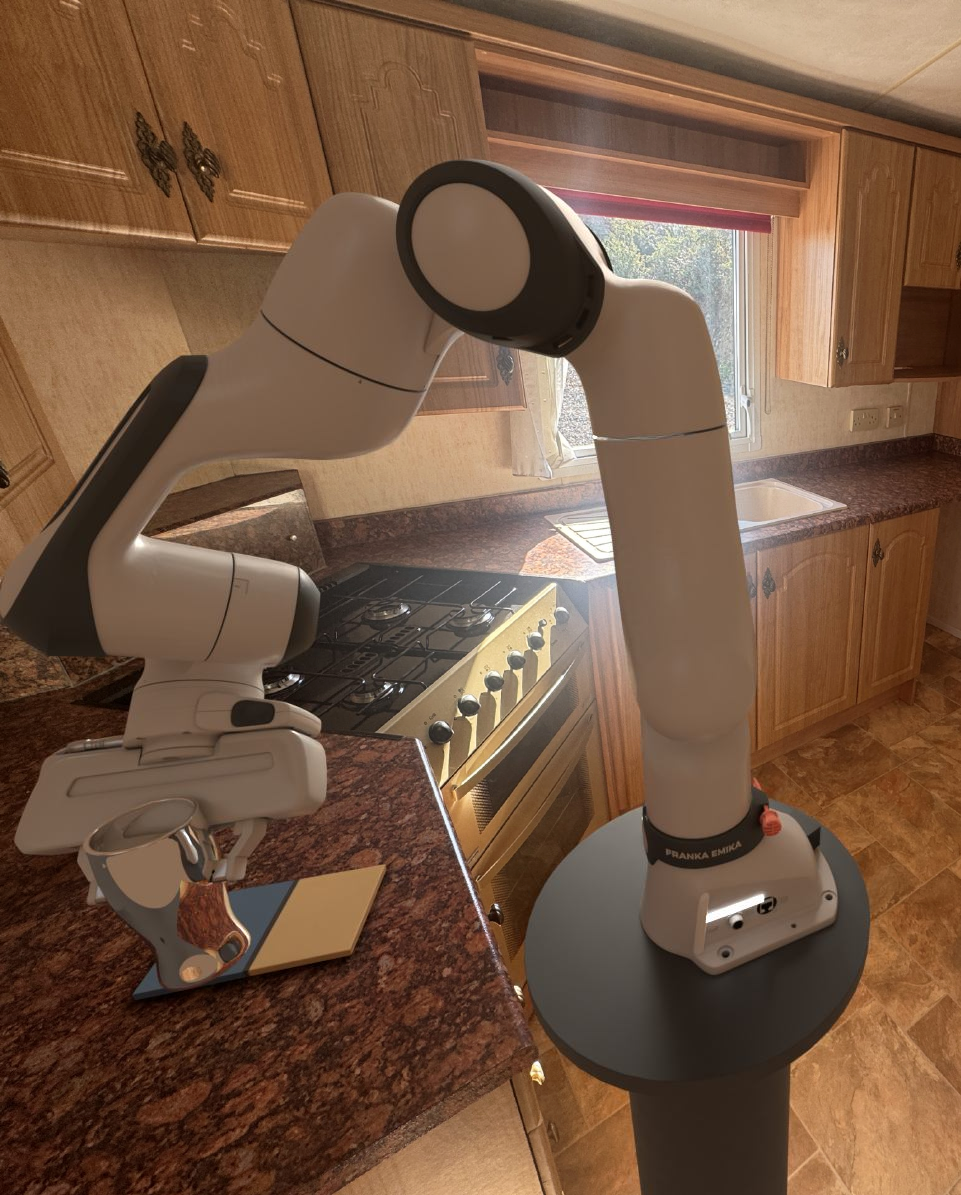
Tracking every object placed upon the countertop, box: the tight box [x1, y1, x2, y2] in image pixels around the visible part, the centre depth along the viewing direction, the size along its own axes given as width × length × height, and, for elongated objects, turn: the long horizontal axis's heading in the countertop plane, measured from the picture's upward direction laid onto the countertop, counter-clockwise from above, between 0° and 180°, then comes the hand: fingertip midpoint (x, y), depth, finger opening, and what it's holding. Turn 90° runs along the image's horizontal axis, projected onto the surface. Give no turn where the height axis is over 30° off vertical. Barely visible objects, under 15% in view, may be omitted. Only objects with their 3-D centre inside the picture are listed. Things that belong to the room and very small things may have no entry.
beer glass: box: [83, 797, 251, 992], centre depth 52 cm, size 7×7×15 cm
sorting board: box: [131, 863, 387, 1001], centre depth 67 cm, size 18×12×1 cm, turn 106°
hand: (168, 892), depth 51 cm, fingers closed on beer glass, 7 cm apart
